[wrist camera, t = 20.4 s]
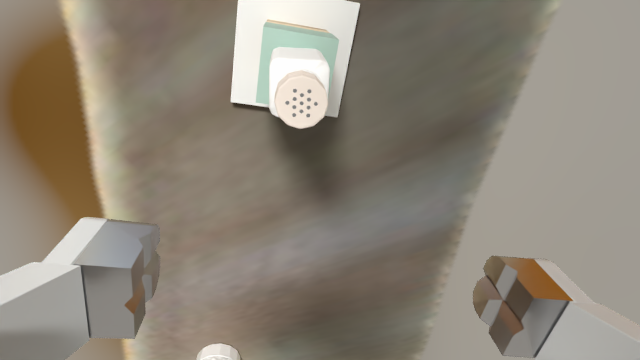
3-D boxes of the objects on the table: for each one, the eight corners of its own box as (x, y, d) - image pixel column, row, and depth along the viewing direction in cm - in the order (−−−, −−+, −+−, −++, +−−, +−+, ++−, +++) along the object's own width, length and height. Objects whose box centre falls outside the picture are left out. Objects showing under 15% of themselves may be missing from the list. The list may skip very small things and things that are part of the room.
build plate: (240, -20, 37) (239, -21, 36) (358, 3, 39) (360, 3, 38) (231, 99, 42) (230, 101, 41) (336, 114, 44) (337, 117, 43)
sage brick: (265, 21, 33) (263, 26, 29) (331, 33, 34) (339, 39, 30) (258, 88, 36) (255, 102, 31) (320, 98, 37) (325, 112, 32)
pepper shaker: (271, 96, 31) (267, 134, 23) (271, 45, 30) (267, 67, 21) (318, 97, 32) (332, 136, 23) (322, 48, 30) (337, 70, 22)
